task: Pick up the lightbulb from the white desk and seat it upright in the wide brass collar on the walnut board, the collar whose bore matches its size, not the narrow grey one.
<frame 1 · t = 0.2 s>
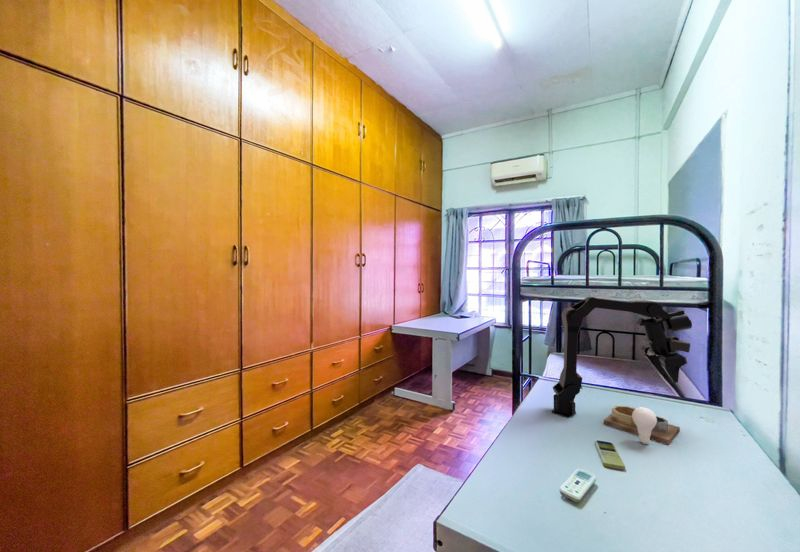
hand: (668, 377, 114), 15 cm above the table, tool pointing down, fingers open, 9 cm apart
grey small collar: (657, 432, 106), resting on walnut board
walnut board: (640, 427, 110), on the table
lightbulb: (644, 444, 100), on the table
brass collar: (628, 424, 112), resting on walnut board
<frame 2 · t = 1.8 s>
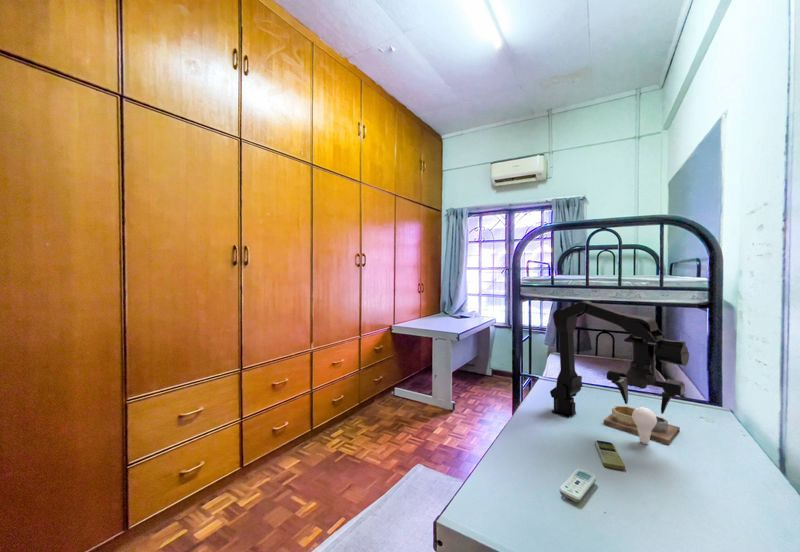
hand: (643, 408, 100), 11 cm above the table, tool pointing down, fingers open, 9 cm apart
nothing on the table moved.
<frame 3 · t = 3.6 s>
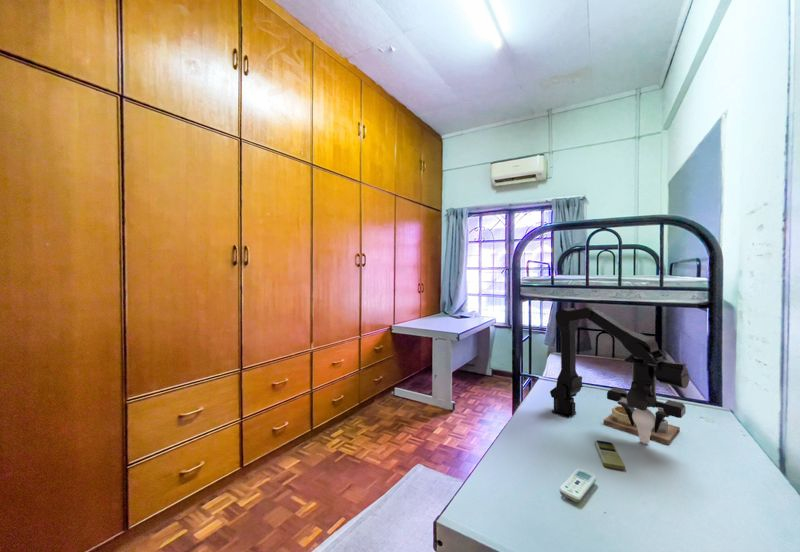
hand: (644, 428, 100), 5 cm above the table, tool pointing down, fingers closed on lightbulb, 6 cm apart
lightbulb: (644, 444, 100), on the table, touching gripper
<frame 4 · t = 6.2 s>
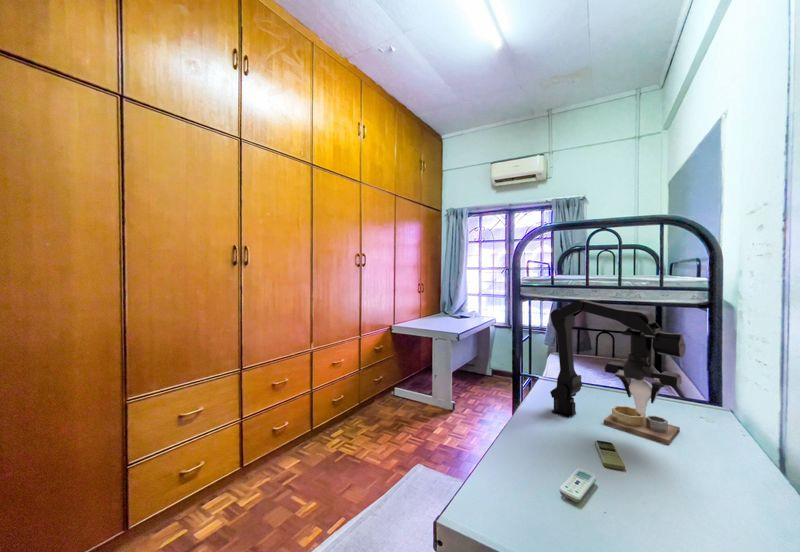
hand: (640, 400, 102), 13 cm above the table, tool pointing down, fingers closed on lightbulb, 6 cm apart
lightbulb: (640, 414, 102), point 8 cm above the table, touching gripper
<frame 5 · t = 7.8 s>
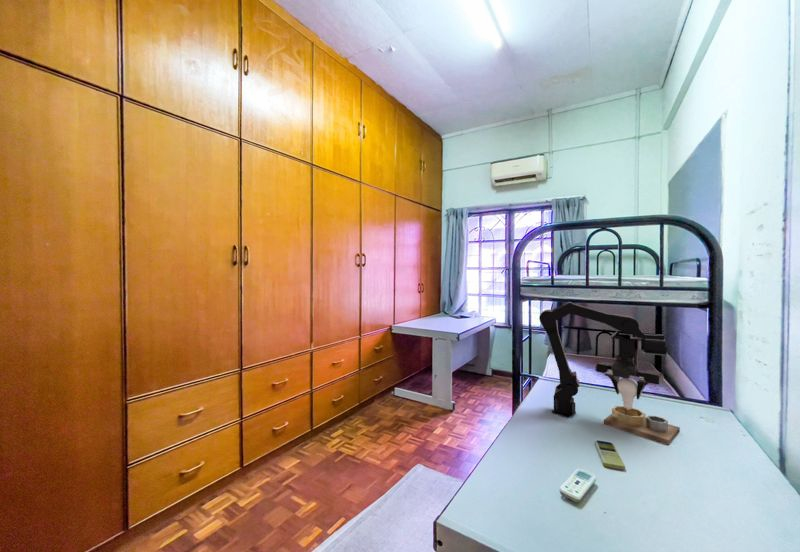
hand: (627, 396, 112), 10 cm above the table, tool pointing down, fingers closed on lightbulb, 6 cm apart
lightbulb: (628, 410, 112), point 5 cm above the table, touching gripper
when the fingers open (7 cm above the table, at t = 9.1 s): lightbulb drops 1 cm, resting on walnut board.
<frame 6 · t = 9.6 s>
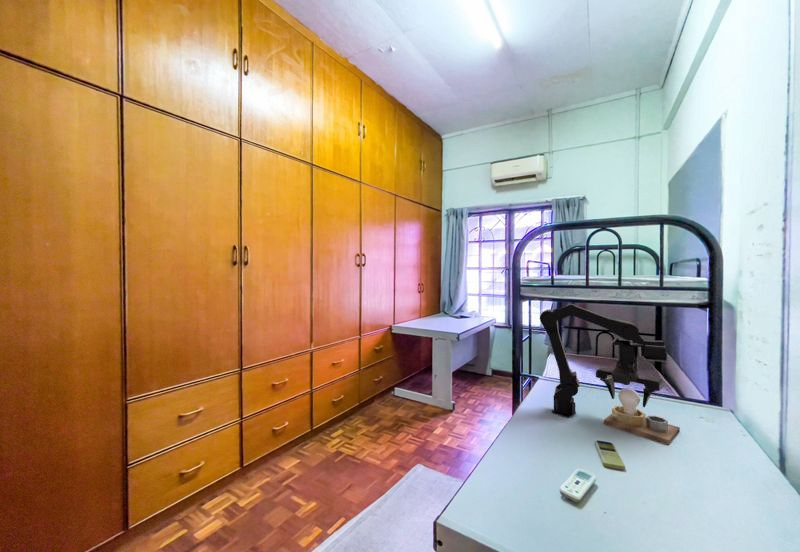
hand: (628, 402, 112), 7 cm above the table, tool pointing down, fingers open, 9 cm apart
lightbulb: (629, 420, 112), point 1 cm above the table, touching walnut board
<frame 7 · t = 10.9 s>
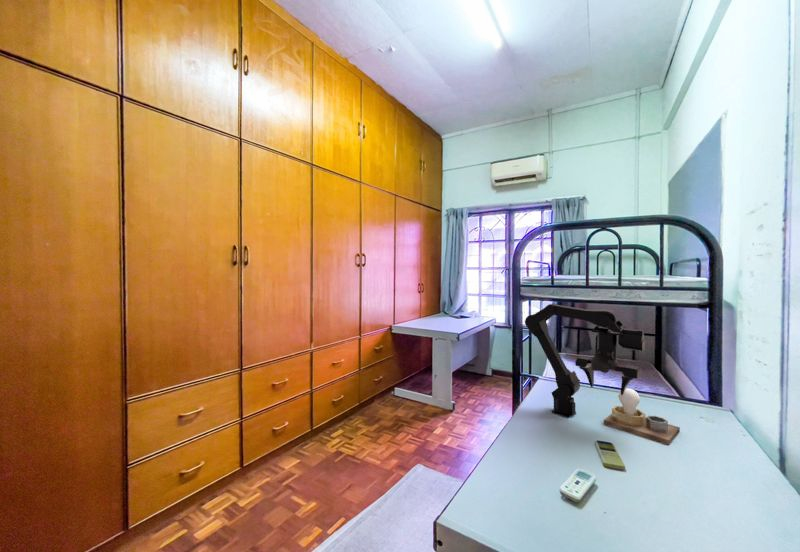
hand: (606, 390, 112), 12 cm above the table, tool pointing down, fingers open, 9 cm apart
nothing on the table moved.
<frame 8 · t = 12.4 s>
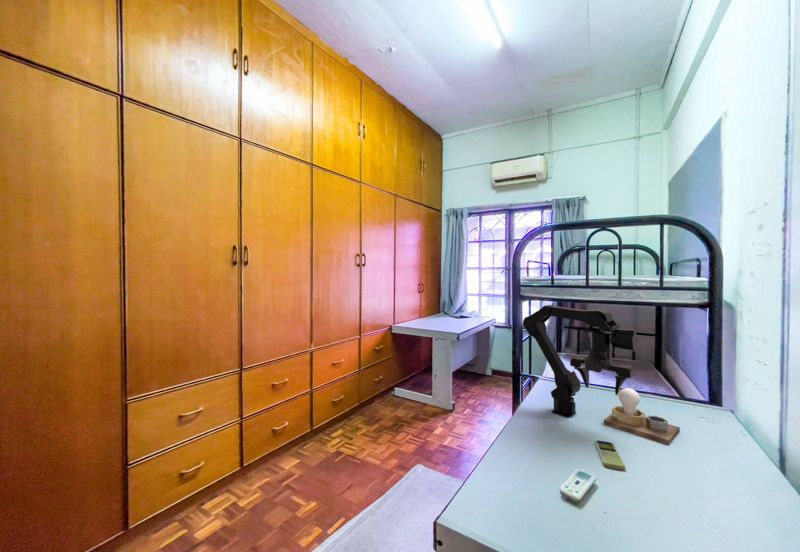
hand: (601, 390, 112), 12 cm above the table, tool pointing down, fingers open, 9 cm apart
nothing on the table moved.
at the end: lightbulb 0.3 cm off-centre on the brass collar, point 1.3 cm above the brass collar's base; lightbulb tilted 1°; the gripper is holding nothing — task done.
